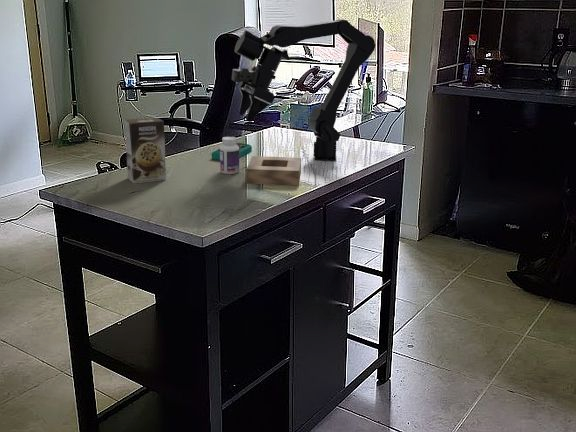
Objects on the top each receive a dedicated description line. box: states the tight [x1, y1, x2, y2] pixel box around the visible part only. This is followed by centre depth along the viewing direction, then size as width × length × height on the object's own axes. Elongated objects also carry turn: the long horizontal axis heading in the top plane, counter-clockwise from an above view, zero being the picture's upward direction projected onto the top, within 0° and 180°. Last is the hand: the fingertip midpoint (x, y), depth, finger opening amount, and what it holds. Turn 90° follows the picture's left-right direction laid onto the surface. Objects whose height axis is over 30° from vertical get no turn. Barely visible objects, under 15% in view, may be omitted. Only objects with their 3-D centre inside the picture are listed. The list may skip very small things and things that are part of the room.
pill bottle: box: [219, 136, 240, 175], centre depth 179 cm, size 5×5×10 cm
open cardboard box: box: [245, 155, 302, 186], centre depth 175 cm, size 14×14×4 cm
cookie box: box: [124, 117, 167, 184], centre depth 169 cm, size 9×6×16 cm
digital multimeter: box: [211, 142, 253, 161], centre depth 198 cm, size 7×15×3 cm, turn 159°
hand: (243, 117), depth 185 cm, fingers open, 9 cm apart
